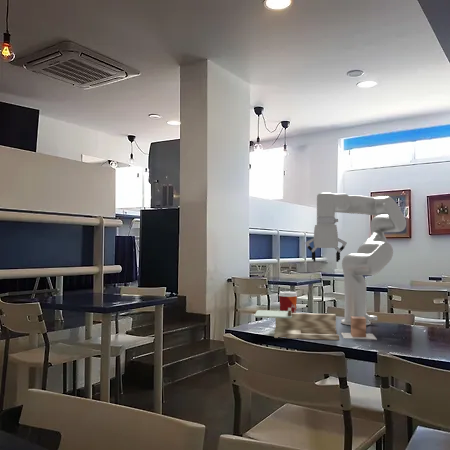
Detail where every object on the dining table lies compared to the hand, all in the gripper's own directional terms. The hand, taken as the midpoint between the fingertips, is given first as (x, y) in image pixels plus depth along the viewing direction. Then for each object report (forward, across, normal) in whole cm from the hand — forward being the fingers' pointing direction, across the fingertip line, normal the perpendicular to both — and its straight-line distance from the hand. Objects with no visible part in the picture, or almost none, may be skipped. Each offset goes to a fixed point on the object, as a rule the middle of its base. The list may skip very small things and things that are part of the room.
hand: (325, 261), depth 200 cm
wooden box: (+28, +9, +17) cm, 34 cm away
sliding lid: (+20, +22, +18) cm, 35 cm away
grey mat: (+28, -11, +17) cm, 35 cm away
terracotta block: (+28, -11, +17) cm, 34 cm away
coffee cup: (+28, +16, 0) cm, 33 cm away
